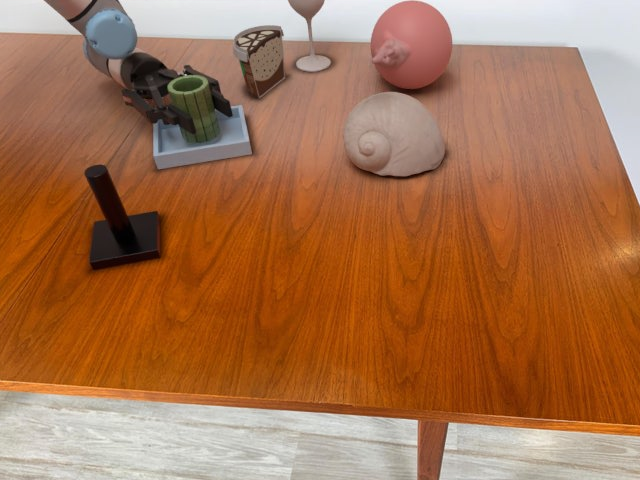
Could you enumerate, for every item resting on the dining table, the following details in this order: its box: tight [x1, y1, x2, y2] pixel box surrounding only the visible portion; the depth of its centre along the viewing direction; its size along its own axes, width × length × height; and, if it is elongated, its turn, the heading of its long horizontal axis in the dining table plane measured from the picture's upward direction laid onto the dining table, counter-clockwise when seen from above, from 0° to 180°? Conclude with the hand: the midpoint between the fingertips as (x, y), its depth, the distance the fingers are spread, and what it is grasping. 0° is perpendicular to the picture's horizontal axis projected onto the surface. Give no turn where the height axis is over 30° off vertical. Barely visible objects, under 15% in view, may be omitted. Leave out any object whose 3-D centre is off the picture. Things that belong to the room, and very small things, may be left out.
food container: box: [232, 24, 286, 100], centre depth 112 cm, size 12×6×10 cm, turn 154°
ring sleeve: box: [168, 75, 220, 144], centre depth 97 cm, size 6×6×9 cm
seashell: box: [342, 91, 446, 177], centre depth 95 cm, size 15×14×15 cm
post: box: [83, 164, 161, 271], centre depth 79 cm, size 9×9×12 cm
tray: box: [152, 104, 253, 170], centre depth 101 cm, size 16×13×3 cm
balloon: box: [370, 0, 453, 90], centre depth 108 cm, size 15×20×15 cm
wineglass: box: [287, 0, 332, 73], centre depth 114 cm, size 8×8×21 cm
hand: (211, 117), depth 94 cm, fingers closed on ring sleeve, 6 cm apart
